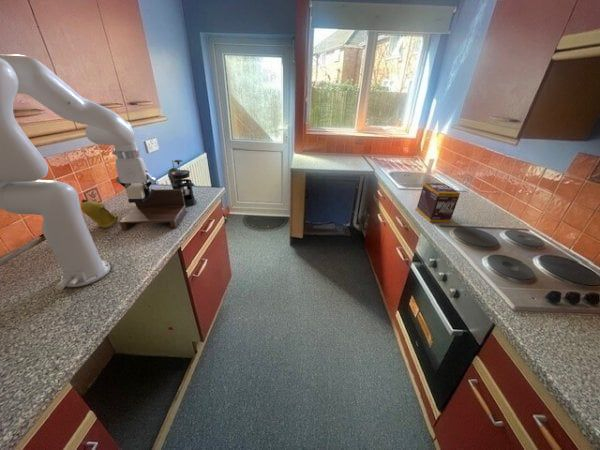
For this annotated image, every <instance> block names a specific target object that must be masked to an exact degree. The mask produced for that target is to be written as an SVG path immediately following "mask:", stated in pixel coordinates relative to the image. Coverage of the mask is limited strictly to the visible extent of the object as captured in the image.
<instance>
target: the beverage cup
mask: <svg viewBox="0 0 600 450" xmlns="http://www.w3.org/2000/svg"><path fill="white" fill-rule="evenodd" d="M173 161H174V160H171V162H172V167H171V168H170V169H169V170H168V171H167V177H168V179H169V182H170V184H171V187H172V189H174V188H173V181H175V180H179V179H174V178H172V175H171V172H173V171H177V170H179V168H177V167H175V162H173ZM176 184H178V185H181V184H182V182H178V183H176ZM179 188H180V189H182V190H183V187H179Z"/></svg>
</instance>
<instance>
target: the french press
mask: <svg viewBox="0 0 600 450" xmlns="http://www.w3.org/2000/svg"><path fill="white" fill-rule="evenodd" d="M172 161H173V163H177V166H178V169H179V170H177V171H173V172H171V175H172V178H174V179H179V180H175V181H173V188H174V189H180V188H179V187H183V190H182V193H183V197H184V202H185V207H191V206H194V205H196V203H197V201H196V198H195V195H194V190H193V185H192V184H193V181H192V180H191V179H189V178H190V175H191V174H190V173H191V171H190V170H187V169H181V168H180V163H182V162H183V160H182V159H175V160H172ZM178 182H182V184H181V185H178V184H176V183H178ZM184 182H185V183H184ZM185 187H186V188H185ZM173 188H172V189H173Z"/></svg>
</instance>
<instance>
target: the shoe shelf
mask: <svg viewBox="0 0 600 450" xmlns="http://www.w3.org/2000/svg"><path fill="white" fill-rule="evenodd" d="M153 191H154V192H153V193H152V194H151V195H150V196H149V197H148V198H147V199H146V200H145V201H144V202H143V203H134V204H135V207H133V208H132V210H130V212H128V213H127V214H126V215H125V216H124V217H123V218H122V219H121V220H119V225H120V228H121V230H122V231H128V230H129V229H130V227H132V226H133V225H134V224H145V223H146V224H147V223H169V224H170V228H171V229H177V228H178V226H179V225H180V223H181V221H182V220H183V218H184V217H185V215H186V213H187V208H186V207H185V202H184V197H183V193H182V189H173V188H172V189H171V188H167V189H163V188H162V189H153Z"/></svg>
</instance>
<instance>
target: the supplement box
mask: <svg viewBox="0 0 600 450" xmlns="http://www.w3.org/2000/svg"><path fill="white" fill-rule="evenodd" d="M460 196H461V192H459V191H457V190H456V189H454V188H453V187H451V186H449V185H448V184H446V183H444V182H423V185H422V189H421V192H420V196H419V198H418V203H417V206H416V211H417V212H418V213H420V214H421V216H423V217H424V219H426V221H428V222H429V223H451V220H452V217H453V215H454V212H455V209H456V206H457V203H458V200H459V198H460Z"/></svg>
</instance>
